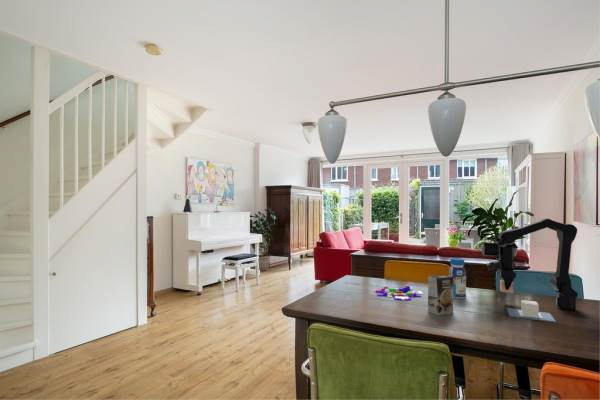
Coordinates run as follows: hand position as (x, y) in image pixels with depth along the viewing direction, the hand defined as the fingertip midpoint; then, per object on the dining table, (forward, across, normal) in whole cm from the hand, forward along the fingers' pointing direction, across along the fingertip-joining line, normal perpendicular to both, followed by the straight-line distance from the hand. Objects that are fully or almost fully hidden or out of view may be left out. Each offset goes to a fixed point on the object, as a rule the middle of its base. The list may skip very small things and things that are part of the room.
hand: (506, 288), depth 160 cm
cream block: (+7, +16, +7) cm, 19 cm away
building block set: (+8, +9, -49) cm, 50 cm away
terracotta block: (+1, 0, 0) cm, 1 cm away
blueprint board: (+7, +16, +7) cm, 19 cm away
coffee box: (+8, +30, -28) cm, 42 cm away
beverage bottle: (+8, -2, -22) cm, 23 cm away
